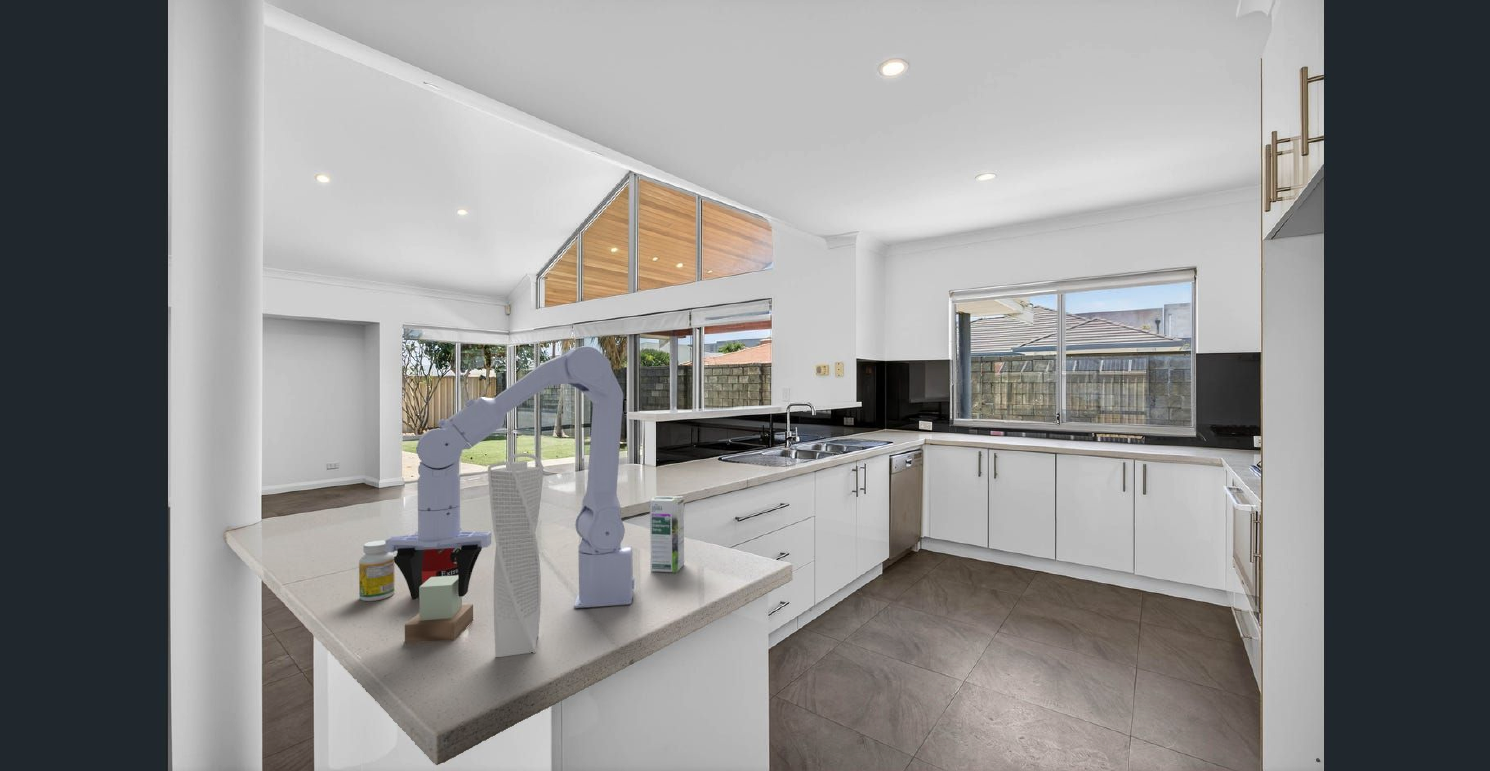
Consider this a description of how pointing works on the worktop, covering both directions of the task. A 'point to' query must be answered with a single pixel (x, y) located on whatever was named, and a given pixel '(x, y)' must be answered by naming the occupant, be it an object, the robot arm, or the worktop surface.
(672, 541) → the syrup box
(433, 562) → the canned food
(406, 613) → the worktop surface
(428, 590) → the sage block
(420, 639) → the walnut block
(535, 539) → the skyscraper
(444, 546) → the robot arm
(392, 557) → the supplement bottle
